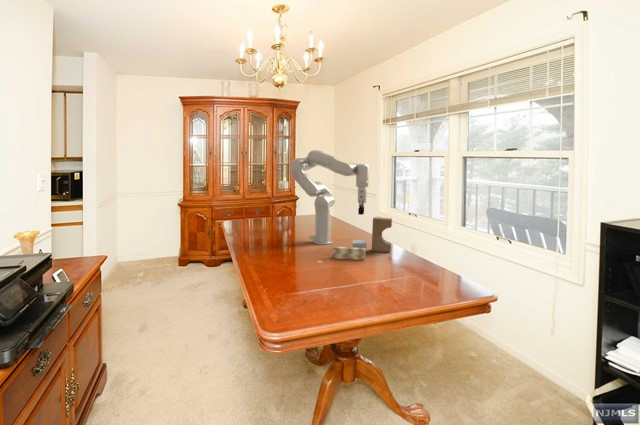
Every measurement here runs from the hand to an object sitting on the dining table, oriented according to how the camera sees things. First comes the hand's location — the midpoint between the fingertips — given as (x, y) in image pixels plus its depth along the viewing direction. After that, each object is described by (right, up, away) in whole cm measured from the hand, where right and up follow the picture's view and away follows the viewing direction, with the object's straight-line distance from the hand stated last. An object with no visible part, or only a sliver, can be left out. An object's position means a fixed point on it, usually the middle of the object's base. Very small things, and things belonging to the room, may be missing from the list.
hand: (361, 213), depth 224 cm
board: (-9, -25, -22) cm, 34 cm away
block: (-2, -23, -7) cm, 24 cm away
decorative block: (+12, -23, -5) cm, 26 cm away
